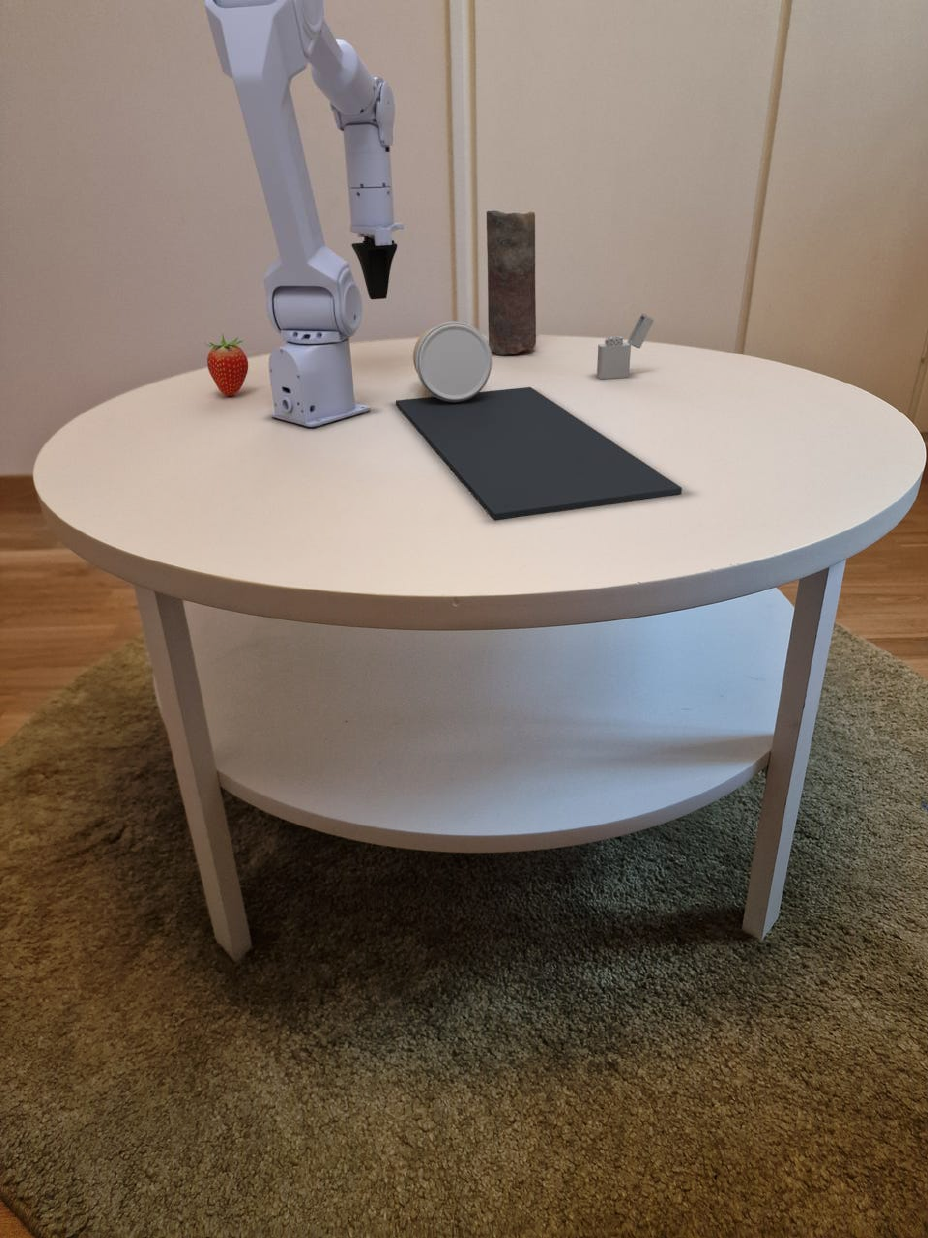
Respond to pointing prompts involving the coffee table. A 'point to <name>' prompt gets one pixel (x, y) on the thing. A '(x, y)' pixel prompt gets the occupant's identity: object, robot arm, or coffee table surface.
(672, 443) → the coffee table surface
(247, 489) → the coffee table surface
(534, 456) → the mat
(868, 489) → the coffee table surface
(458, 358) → the coffee cup
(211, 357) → the fruit
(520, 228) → the brown stone cylinder
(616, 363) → the lighter
